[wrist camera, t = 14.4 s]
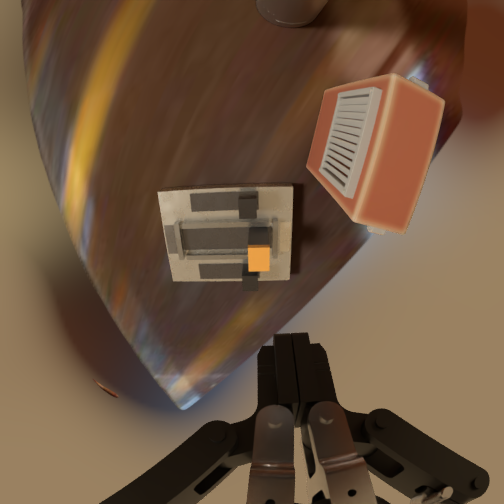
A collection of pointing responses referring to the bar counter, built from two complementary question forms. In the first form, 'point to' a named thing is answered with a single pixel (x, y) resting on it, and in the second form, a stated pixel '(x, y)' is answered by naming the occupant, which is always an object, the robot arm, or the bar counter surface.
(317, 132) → the orange rectangular box
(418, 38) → the bar counter surface
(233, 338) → the bar counter surface
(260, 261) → the block
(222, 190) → the breaker board
